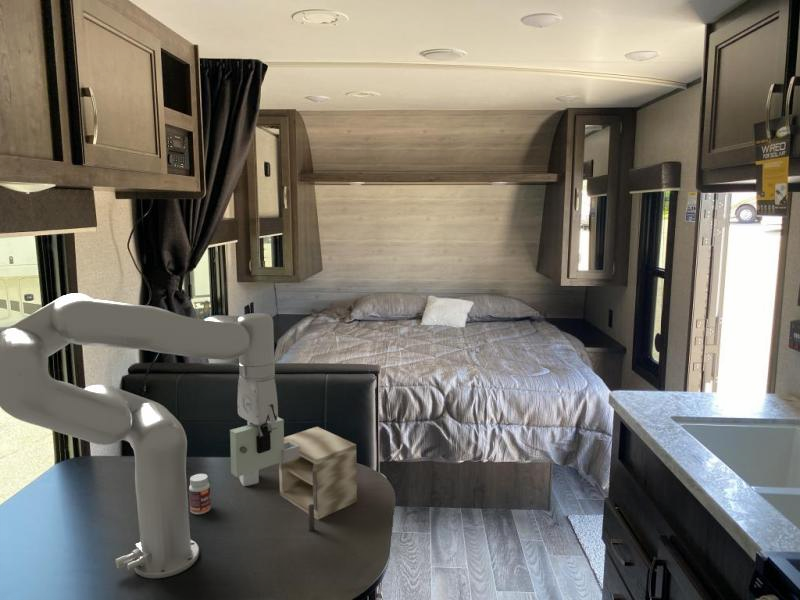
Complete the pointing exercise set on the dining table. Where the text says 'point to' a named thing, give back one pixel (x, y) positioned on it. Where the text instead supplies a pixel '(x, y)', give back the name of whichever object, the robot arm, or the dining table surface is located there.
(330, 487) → the cabinet
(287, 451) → the door
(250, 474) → the skincare box
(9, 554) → the dining table surface
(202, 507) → the pill bottle
